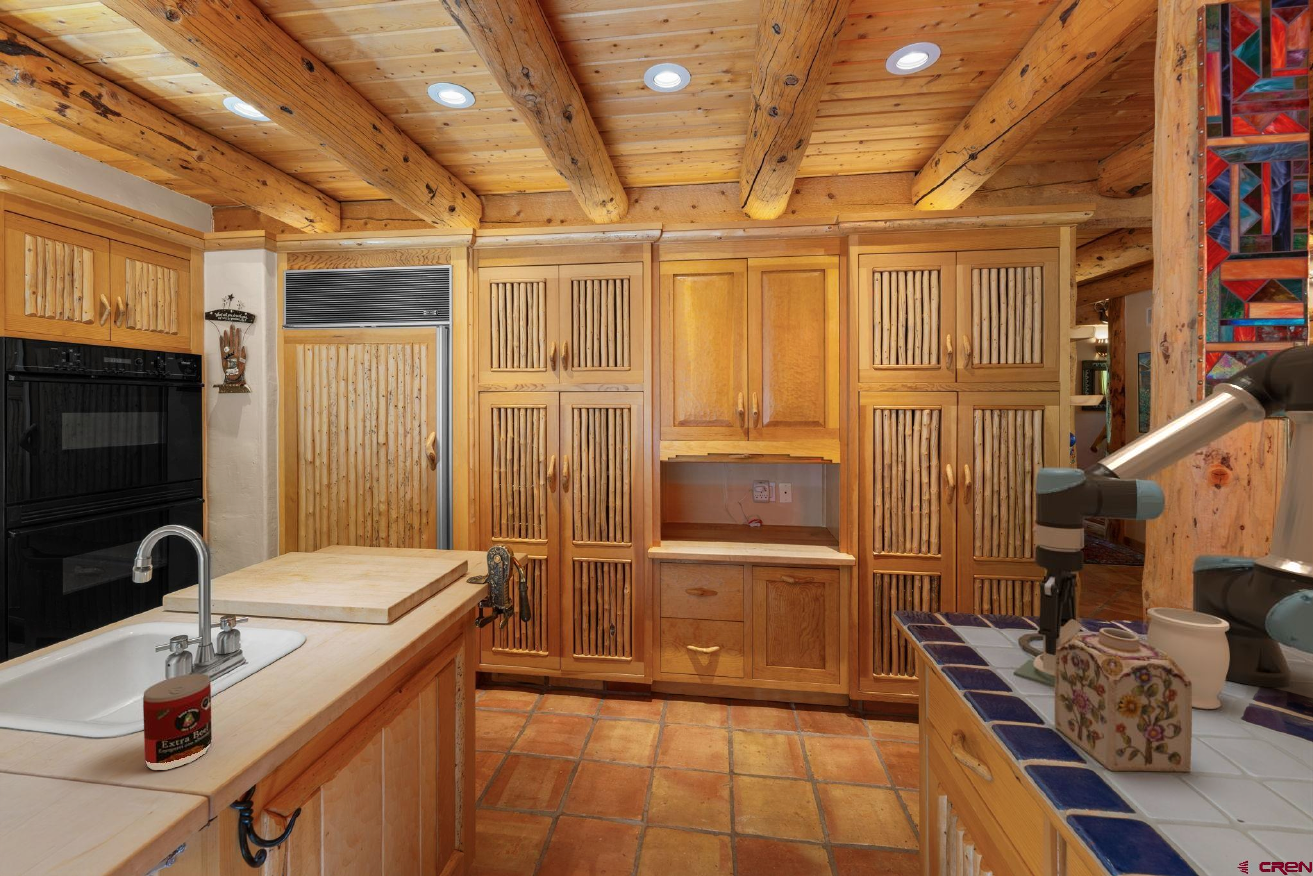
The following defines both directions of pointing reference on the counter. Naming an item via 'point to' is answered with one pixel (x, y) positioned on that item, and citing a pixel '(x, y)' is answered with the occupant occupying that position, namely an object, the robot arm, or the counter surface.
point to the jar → (1193, 649)
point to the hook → (1065, 634)
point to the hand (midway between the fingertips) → (1057, 664)
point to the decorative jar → (1124, 702)
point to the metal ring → (1026, 646)
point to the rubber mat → (1035, 674)
